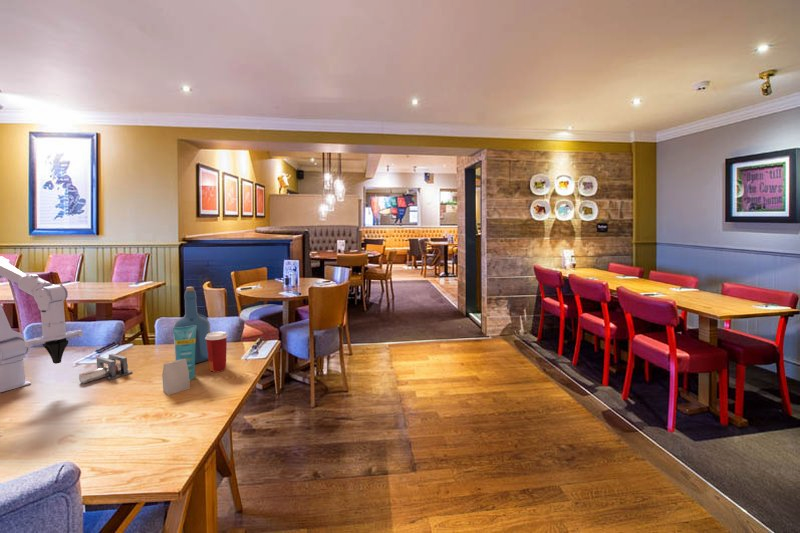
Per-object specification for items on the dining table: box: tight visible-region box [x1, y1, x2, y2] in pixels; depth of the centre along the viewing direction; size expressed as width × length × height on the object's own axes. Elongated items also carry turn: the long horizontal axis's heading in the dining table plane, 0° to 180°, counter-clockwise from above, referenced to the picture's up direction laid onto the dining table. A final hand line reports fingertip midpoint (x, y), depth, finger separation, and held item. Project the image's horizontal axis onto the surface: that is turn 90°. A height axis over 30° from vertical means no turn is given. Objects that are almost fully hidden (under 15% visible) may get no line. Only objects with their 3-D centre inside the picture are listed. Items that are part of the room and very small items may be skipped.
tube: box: [172, 325, 197, 381], centre depth 139 cm, size 7×5×19 cm, turn 123°
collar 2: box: [108, 353, 133, 377], centre depth 145 cm, size 4×11×6 cm, turn 63°
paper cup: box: [205, 330, 229, 373], centre depth 148 cm, size 8×8×14 cm
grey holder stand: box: [95, 356, 122, 381], centre depth 141 cm, size 4×11×6 cm, turn 63°
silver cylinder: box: [78, 362, 129, 385], centre depth 140 cm, size 14×4×4 cm, turn 153°
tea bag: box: [162, 359, 191, 396], centre depth 129 cm, size 4×7×10 cm, turn 142°
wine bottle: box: [173, 286, 211, 364], centre depth 158 cm, size 14×13×30 cm
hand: (57, 362), depth 128 cm, fingers closed
